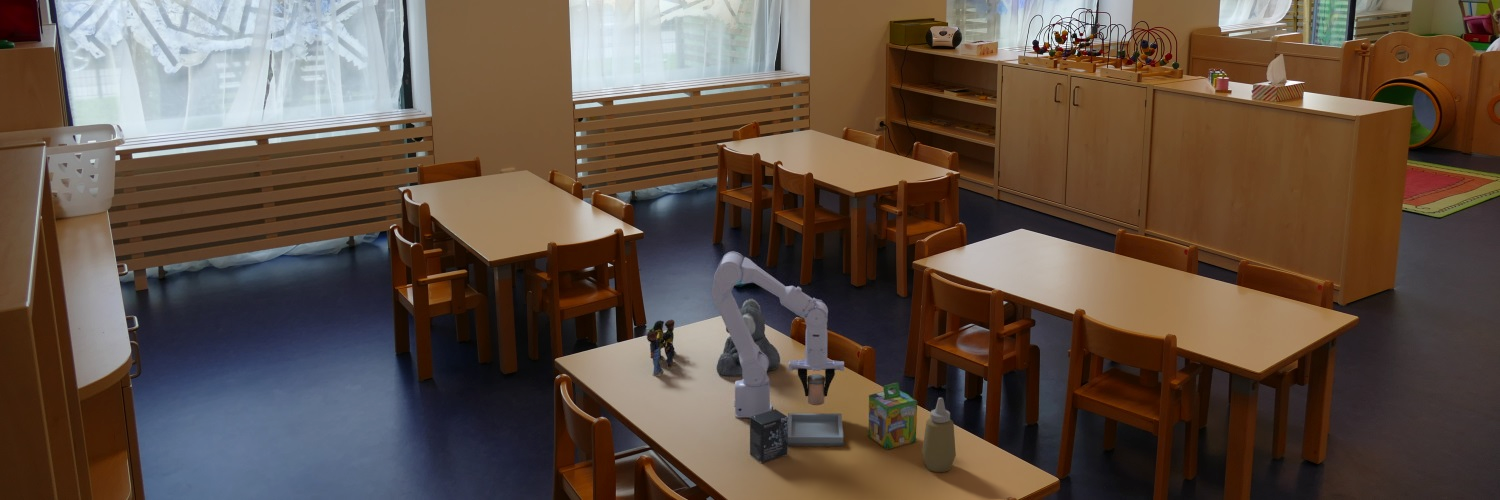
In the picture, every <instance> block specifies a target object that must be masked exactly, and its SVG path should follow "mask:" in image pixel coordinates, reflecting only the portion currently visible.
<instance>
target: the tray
mask: <svg viewBox="0 0 1500 500" xmlns="http://www.w3.org/2000/svg"><path fill="white" fill-rule="evenodd" d="M842 416H843V415H842V412H841V413H840V412H839V413H833V412H832V413H831V412H830V413H825V412H824V413H823V412H822V413H819V412H818V413H815V412H813V413H810V412H809V413H803V412H801V413H799V412H798V413H797V412H795V413H791V412H790V413H787V417H788V447H843V446H844V429H843V417H842Z"/></svg>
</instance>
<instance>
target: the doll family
mask: <svg viewBox="0 0 1500 500" xmlns="http://www.w3.org/2000/svg"><path fill="white" fill-rule="evenodd" d="M675 323H676V322H675V320H673V319H669V320H667V321H666V322H665V321H664V320H657V321H655V323H654V325H653V326H652V327H651V328H648V327H646V330H648V331H647V333H646V335H645V336H646V340H647V342H649V346H650V347H649V350H650V359H652V364H653V371H652V376H654V377H661V376H662V375H663V374H662V373H664V369H662V366H661V364H660V363H664V359H665V357H664V356H663V355H662V354H661V352H662V349H664V353H665V356H666V359H665V364H667V366H666V367H665V369H666V370H671V371H672V370H675V369H676V367H675V366H678V363H677V362H676V361H674V360H673V359H674V358H676V357H678V355H677V352H676V350H675V347H674V336H675V335H674V328H675ZM664 326H665V327H666V331H664V330H663V329H664Z"/></svg>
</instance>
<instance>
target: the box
mask: <svg viewBox="0 0 1500 500" xmlns="http://www.w3.org/2000/svg"><path fill="white" fill-rule="evenodd" d="M788 449H789V446H788V415H785V414H784V413H782V412H781V411H779V410H778V409H776V408H774V409H772V410H771V411H768V412H765V413H761V414H758V415H754V416H750V418H749V455H750V456H752V457H753V458H754V459H755V460H757V461H758V462H759V463H762V464H763V463H765V462H768V461H771V460H775V459H777V458H778V459H779V458H781V457H784V456H788V454H789V453H788V451H789V450H788Z"/></svg>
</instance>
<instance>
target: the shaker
mask: <svg viewBox="0 0 1500 500" xmlns="http://www.w3.org/2000/svg"><path fill="white" fill-rule="evenodd" d="M807 386H808V396H807V403H808V404H809V405H812V406H820V405H824V404H825V396H824V387H825V375H822V374H819V373H812V374H809V375H807Z"/></svg>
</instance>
